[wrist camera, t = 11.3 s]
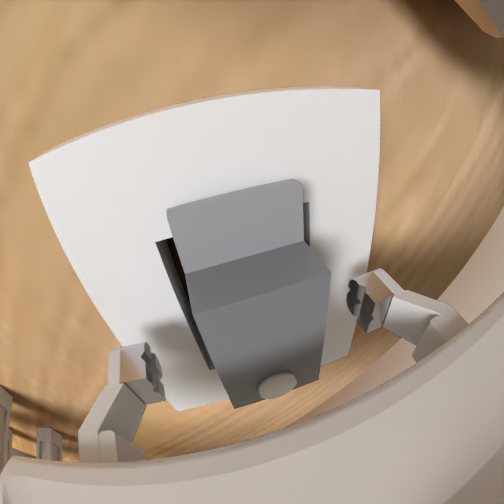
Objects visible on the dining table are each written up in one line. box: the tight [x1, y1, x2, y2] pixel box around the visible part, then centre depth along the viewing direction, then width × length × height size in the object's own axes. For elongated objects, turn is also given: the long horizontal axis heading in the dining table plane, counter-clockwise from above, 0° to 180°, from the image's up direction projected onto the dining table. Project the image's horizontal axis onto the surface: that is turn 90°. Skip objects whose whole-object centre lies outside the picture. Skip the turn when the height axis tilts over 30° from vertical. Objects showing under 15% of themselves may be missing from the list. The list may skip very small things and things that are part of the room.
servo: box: [166, 178, 331, 409], centre depth 11 cm, size 10×4×6 cm, turn 7°
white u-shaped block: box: [29, 86, 380, 411], centre depth 13 cm, size 16×12×3 cm
